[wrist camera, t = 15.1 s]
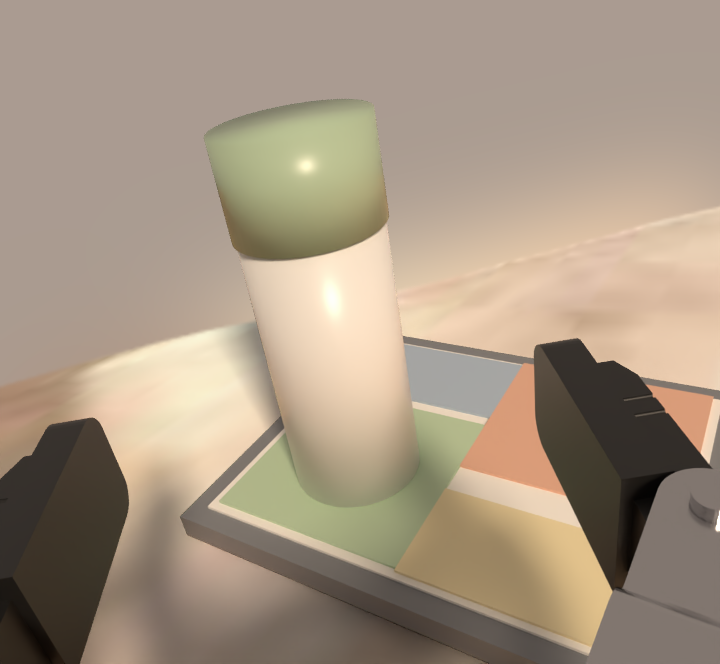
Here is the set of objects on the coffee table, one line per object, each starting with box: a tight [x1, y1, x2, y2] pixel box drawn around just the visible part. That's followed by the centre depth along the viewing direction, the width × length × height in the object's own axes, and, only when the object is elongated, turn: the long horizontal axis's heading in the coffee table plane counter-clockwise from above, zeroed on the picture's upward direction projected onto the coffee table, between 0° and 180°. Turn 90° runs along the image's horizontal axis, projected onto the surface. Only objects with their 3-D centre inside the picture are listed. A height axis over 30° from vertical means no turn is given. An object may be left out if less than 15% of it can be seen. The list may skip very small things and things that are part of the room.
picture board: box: [180, 336, 720, 664], centre depth 24 cm, size 16×13×1 cm
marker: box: [204, 99, 419, 508], centre depth 21 cm, size 5×5×12 cm
